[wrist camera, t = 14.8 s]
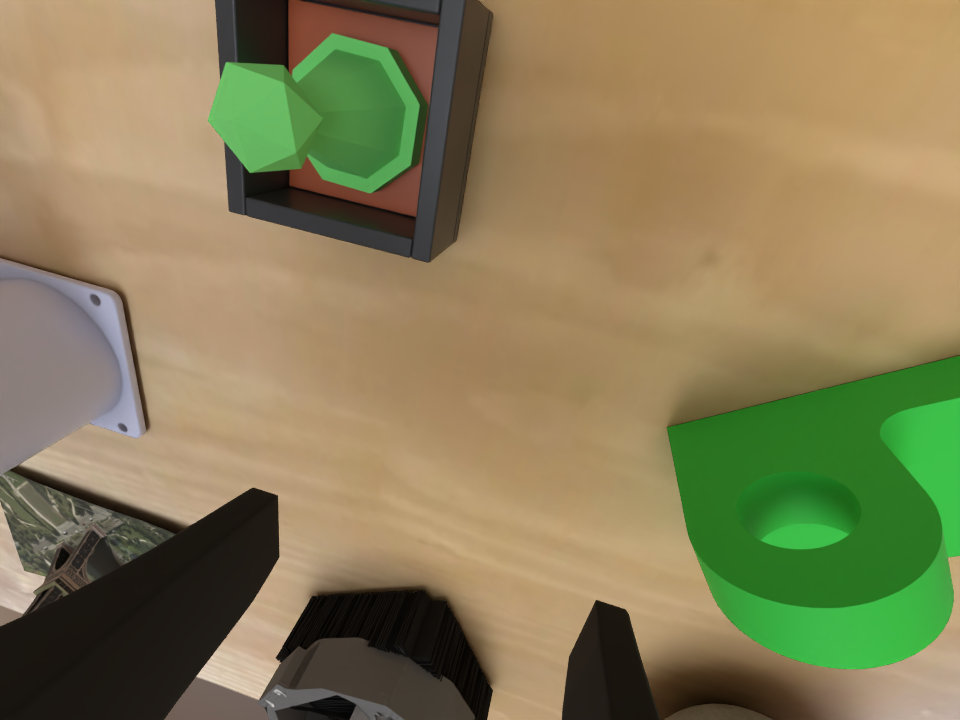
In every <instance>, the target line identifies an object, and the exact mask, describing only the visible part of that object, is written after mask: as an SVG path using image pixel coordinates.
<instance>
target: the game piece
mask: <svg viewBox="0 0 960 720" xmlns="http://www.w3.org/2000/svg"><path fill="white" fill-rule="evenodd" d="M427 111H428V104H427V102H426V101H425V99H424V97H423V95H422V93H421V92H420V90H419V88H418V86H417V85H416V83H415V81H414V79H413V77H412V76H411V74H410V72H409V70H408V69H407V67H406V65H405V63H404V61H403V60H402V58H401V56H400V54H399V53H398V51H396V50H393V49H390V48H387V47H383V46H379V45H375V44H372V43H368V42H364V41H360V40H357V39H353V38H349V37H345V36H341V35H338V34H334V33H332V34H331V35H330V36H329V37H328V38H326V39H325V40H324V41H323V42H322V43H321V44H320V45H319V46H318V47H317V48H316V49H315V50H314V51H312V52H311V53H310V54H309V55H308V56H307V57H306V58H305V59H304V60H303V61H302V62H301V63H300V64H298V65H297V66H296V67H295V68H294V69H293V71H292V76H291V74H290V73H289V72H288V70H287V69H286V68H285V66H284V65H272V64H253V63H234V62H226V64H225V67H224V70H223V73H222V76H221V80H220V83H219V86H218V89H217V93H216V96H215V99H214V102H213V105H212V109H211V112H210V115H209V118H208V122H209V123H210V124H211V125H212V127H213V128H214V129H215V130H216V132H217V133H218V134H219V135H220V136H221V138H222V139H223V140H224V141H225V143H226V144H227V145H228V146H229V148H230V149H231V150H232V151H233V153H234V154H235V155H236V156H237V157H238V159H239V160H240V161H241V162H242V164H243V165H244V166H245V167H246V169H247V170H248V171H249V172H250V173H254V172H267V171H280V170H293V169H301V168H302V166H303V164H304V162H305V159H306V157H308V158H309V160H310V161H311V163H312V164H313V166H314V167H315V169H316V170H317V172H318V173H319V175H320V176H321V178H322V179H323V180H326V181H329V182H333V183H336V184H340V185H343V186H346V187H350V188H353V189H357V190H360V191H363V192H367V193H370V194H371V193H374V192H377V191H380V190H382V189H383V188H384V187H386V186H387V185H389V184H390V183H391V182H393V181H394V180H396V179H397V178H399V177H400V176H401V175H403V174H404V173H406V172H407V171H409V170H410V169H411V168H413V167H414V166H416V165H417V164H419V161H420V155H421V149H422V142H423V136H424V130H425V123H426V117H427Z"/></svg>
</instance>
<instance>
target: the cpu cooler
mask: <svg viewBox="0 0 960 720" xmlns="http://www.w3.org/2000/svg"><path fill="white" fill-rule="evenodd" d="M448 606H449V605H447V601H431V600H430V598H429V597H428V595H427V593H426V592H425V590H424V591H423V590H421V591H420V590H419V591H414V593H413V591H411V593H410V591H409V592H408V590H407V591H404V592H403V591H399V592H398V591H397V593H396V591H394V592H393V591H392V592H391V591H389V592H382V593H381V592H378V594H377V593H375V594H374V592H372V593H371V594H370V593H365V595H364V593H363V594H362V593H361V594H358V593H357V595H356V594H355V593H354V594H347V595H344V594H343V596H342V594H341V596H340V594H338V595H337V594H336V595H329V596H326V595H325V596H324V595H323V596H322V595H321V597H320V595H319V596H318V597H317V596H312V598H311V599H310V601H309V603H308V604H307V606H306V608H305V609H304V611H303V613H302V614H301V616H300V618H299V619H298V621H297V623H296V625H295V626H294V628H293V630H292V631H291V633H290V635H289V636H288V638H287V640H286V641H285V643H284V645H283V647H282V649H281V650H280V652H279V654H278V655H277V657H276V659H277V660H278V661H279V660H280V662H282V663H281V664H280V665H279V667H278V669H277V670H276V672H275V674H274V675H273V677H272V679H271V681H270V682H269V684H268V686H267V687H266V689H265V691H264V693H263V694H262V696H261V698H260V699H259V701H258V703H259V704H260V705H261V706H263V707H264V708H265V709H266V711H267V713H268V716H269V720H487V717H488V712H489V707H490V702H491V697H492V692H493V690H492V688H491V686H490V685H489V684H488V682H487V680H486V679H487V678H486V676H484V673H482V669H481V668H480V666H479V664H478V662H477V659H476V657H475V656H474V655H473V654H474V653H473V651H472V649H470V648H471V647H470V646H468V644H467V641H466V638H465V637H464V634H463V632H462V631H461V628H460V626H459V624H458V622H457V621H456V618H455V617H454V615H453V613H452V610H451V609H450V607H449V608H448ZM450 610H451V611H450Z"/></svg>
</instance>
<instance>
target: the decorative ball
mask: <svg viewBox="0 0 960 720" xmlns="http://www.w3.org/2000/svg"><path fill="white" fill-rule="evenodd" d="M664 720H773V719H771V718H769V717H766V716H764V715H762V714H760V713H757V712H755V711H753V710H749V709H746V708H743V707H739V706H733V705H727V704H703V705H697V706H692V707H689V708H686V709H683V710H680V711H678V712H676V713H674V714H672V715H671V716H669V717H667V718H666V719H664Z"/></svg>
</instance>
